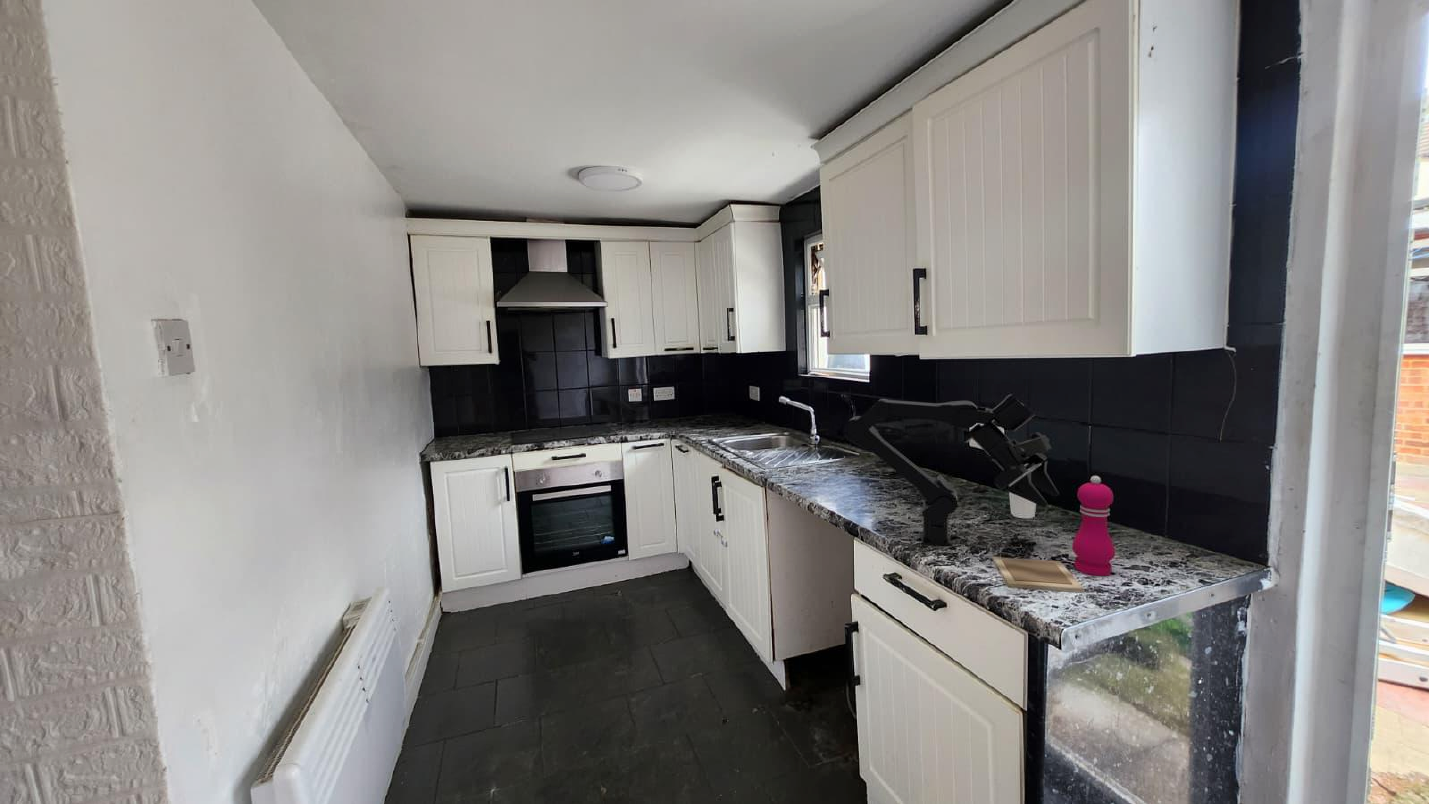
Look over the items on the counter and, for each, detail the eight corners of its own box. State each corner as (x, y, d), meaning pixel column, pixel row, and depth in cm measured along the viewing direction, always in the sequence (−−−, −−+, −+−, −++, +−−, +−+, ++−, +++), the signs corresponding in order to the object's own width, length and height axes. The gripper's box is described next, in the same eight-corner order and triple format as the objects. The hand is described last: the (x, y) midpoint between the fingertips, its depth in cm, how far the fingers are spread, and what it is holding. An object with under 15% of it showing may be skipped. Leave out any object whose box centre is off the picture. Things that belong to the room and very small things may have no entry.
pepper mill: (1096, 561, 114) (1099, 470, 112) (1123, 576, 107) (1127, 479, 105) (1063, 563, 114) (1066, 472, 112) (1088, 578, 107) (1091, 481, 104)
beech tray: (992, 560, 117) (992, 556, 117) (1059, 564, 113) (1060, 560, 113) (1008, 587, 104) (1008, 582, 104) (1084, 592, 101) (1084, 587, 101)
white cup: (1043, 518, 141) (1043, 493, 141) (1017, 519, 141) (1017, 494, 141) (1028, 510, 148) (1028, 486, 147) (1003, 511, 148) (1003, 487, 148)
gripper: (1011, 428, 110) (1073, 488, 103) (1037, 416, 123) (1093, 469, 116) (971, 460, 116) (1027, 519, 110) (1000, 446, 129) (1051, 498, 123)
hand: (1051, 500), depth 114 cm, fingers open, 9 cm apart
